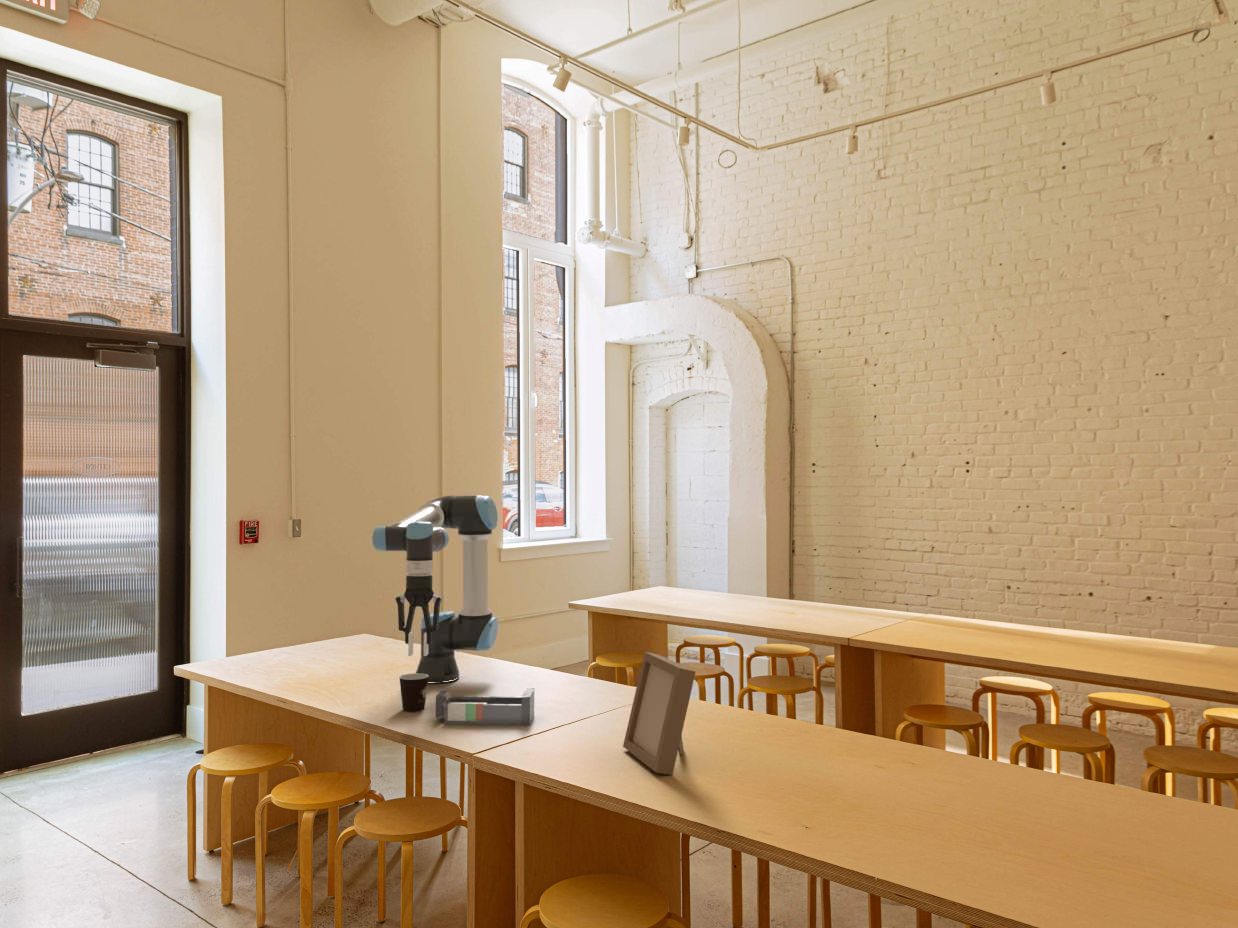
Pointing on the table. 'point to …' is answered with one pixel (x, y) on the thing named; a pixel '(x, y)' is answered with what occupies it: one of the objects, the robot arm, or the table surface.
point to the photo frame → (659, 712)
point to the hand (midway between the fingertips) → (418, 654)
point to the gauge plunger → (442, 700)
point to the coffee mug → (413, 691)
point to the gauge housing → (491, 710)
